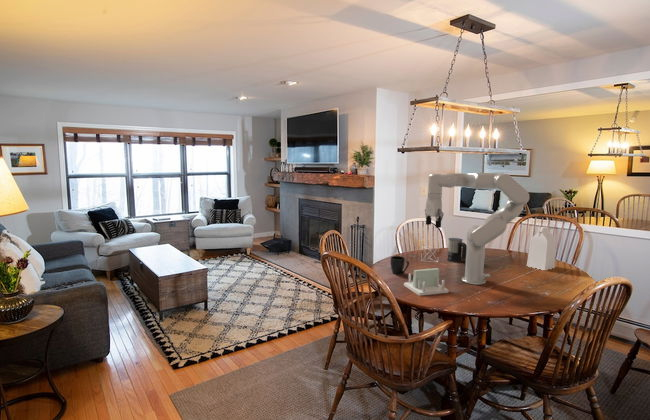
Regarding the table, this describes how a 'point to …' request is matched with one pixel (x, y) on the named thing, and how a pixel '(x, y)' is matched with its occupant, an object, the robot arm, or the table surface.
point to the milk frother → (456, 250)
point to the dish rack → (426, 290)
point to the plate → (426, 277)
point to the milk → (542, 250)
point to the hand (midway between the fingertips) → (433, 226)
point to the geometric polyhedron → (427, 253)
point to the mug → (398, 264)
